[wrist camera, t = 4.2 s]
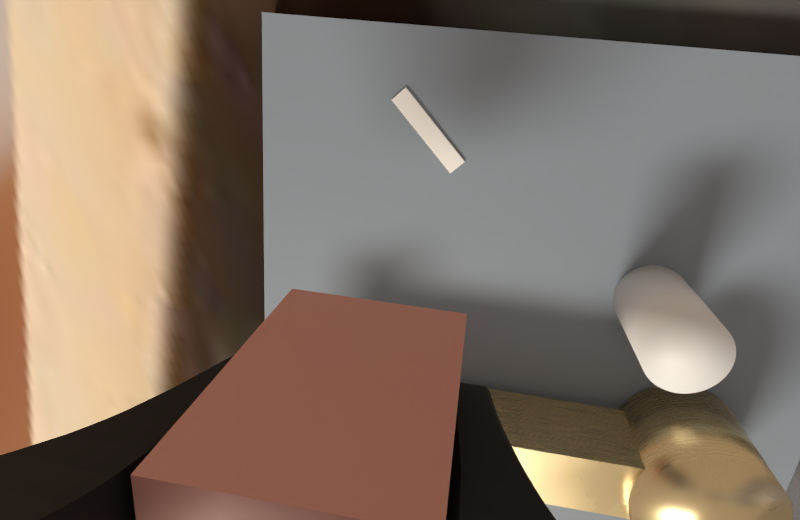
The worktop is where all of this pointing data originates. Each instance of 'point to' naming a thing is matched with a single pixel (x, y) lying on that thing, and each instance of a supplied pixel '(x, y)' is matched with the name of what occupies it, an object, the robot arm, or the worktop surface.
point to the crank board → (549, 206)
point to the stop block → (318, 420)
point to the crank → (643, 457)
